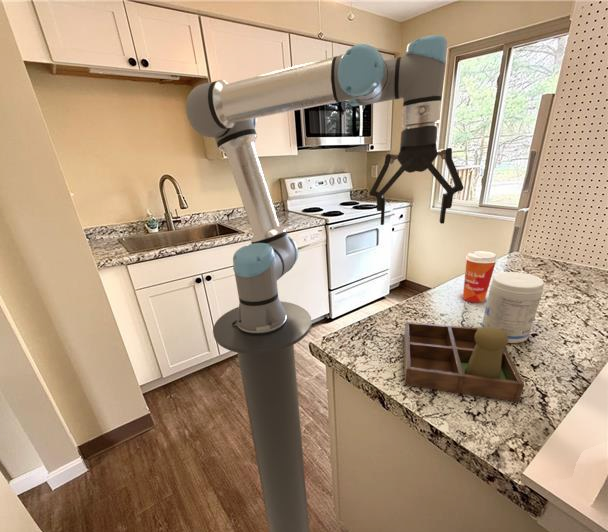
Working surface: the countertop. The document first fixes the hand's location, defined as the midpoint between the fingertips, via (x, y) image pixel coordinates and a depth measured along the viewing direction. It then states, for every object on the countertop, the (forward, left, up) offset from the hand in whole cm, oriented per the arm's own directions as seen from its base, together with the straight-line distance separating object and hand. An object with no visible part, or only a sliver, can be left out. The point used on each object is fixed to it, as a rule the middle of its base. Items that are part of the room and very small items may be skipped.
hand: (411, 223), depth 77 cm
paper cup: (+20, +15, -27) cm, 37 cm away
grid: (+10, -20, -27) cm, 35 cm away
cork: (+15, -25, -26) cm, 39 cm away
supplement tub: (+23, -5, -27) cm, 36 cm away
